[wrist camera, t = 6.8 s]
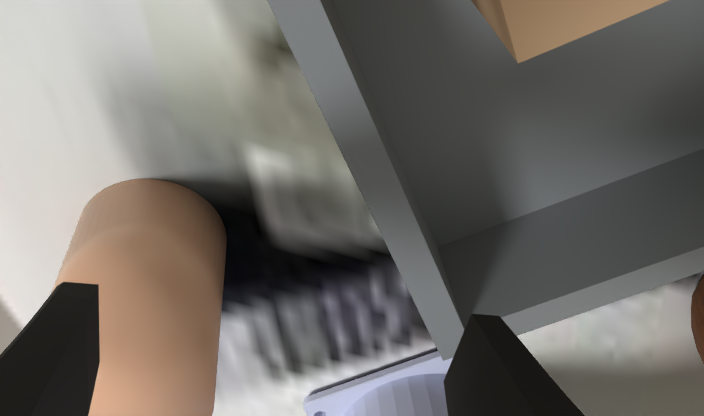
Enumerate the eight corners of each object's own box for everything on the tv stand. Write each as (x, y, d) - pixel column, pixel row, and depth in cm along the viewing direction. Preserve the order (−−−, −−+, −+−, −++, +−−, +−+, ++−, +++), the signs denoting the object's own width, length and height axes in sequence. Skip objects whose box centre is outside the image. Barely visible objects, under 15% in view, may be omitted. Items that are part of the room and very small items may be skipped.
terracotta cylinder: (251, 263, 24) (246, 425, 19) (131, 309, 25) (91, 478, 19) (180, 156, 21) (149, 310, 16) (46, 212, 22) (-29, 378, 17)
